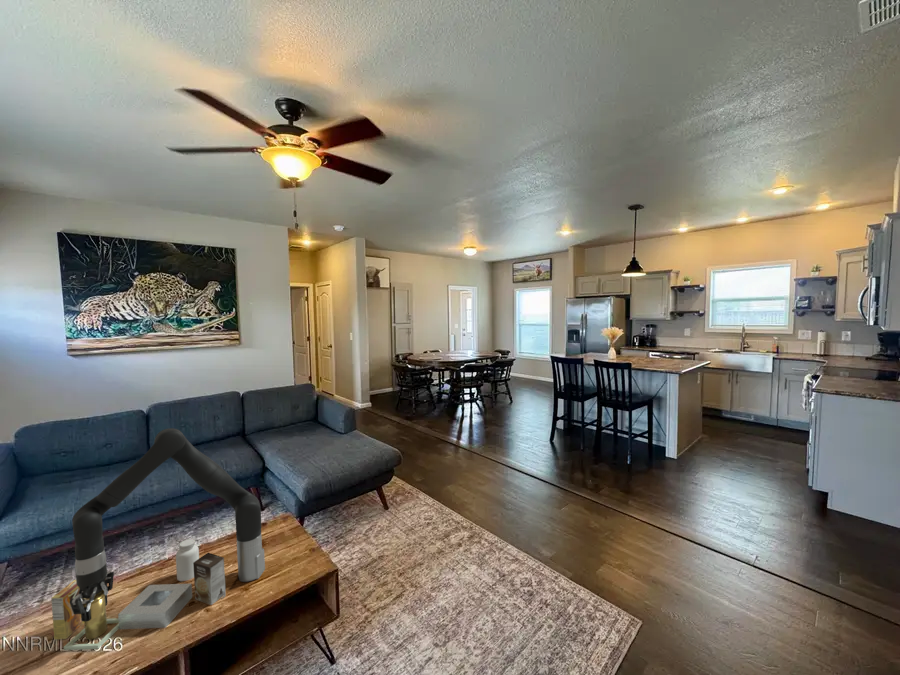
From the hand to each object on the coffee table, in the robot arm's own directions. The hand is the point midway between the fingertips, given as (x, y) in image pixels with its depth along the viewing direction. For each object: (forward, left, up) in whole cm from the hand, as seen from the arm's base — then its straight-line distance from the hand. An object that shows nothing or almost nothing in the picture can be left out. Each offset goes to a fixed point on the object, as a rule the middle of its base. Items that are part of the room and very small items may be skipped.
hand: (95, 613), depth 127 cm
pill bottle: (-12, -29, -9) cm, 33 cm away
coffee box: (-29, -16, -9) cm, 34 cm away
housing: (-14, -9, -9) cm, 19 cm away
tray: (0, 0, -9) cm, 9 cm away
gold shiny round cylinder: (0, 0, -7) cm, 7 cm away
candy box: (+12, -4, -9) cm, 16 cm away
